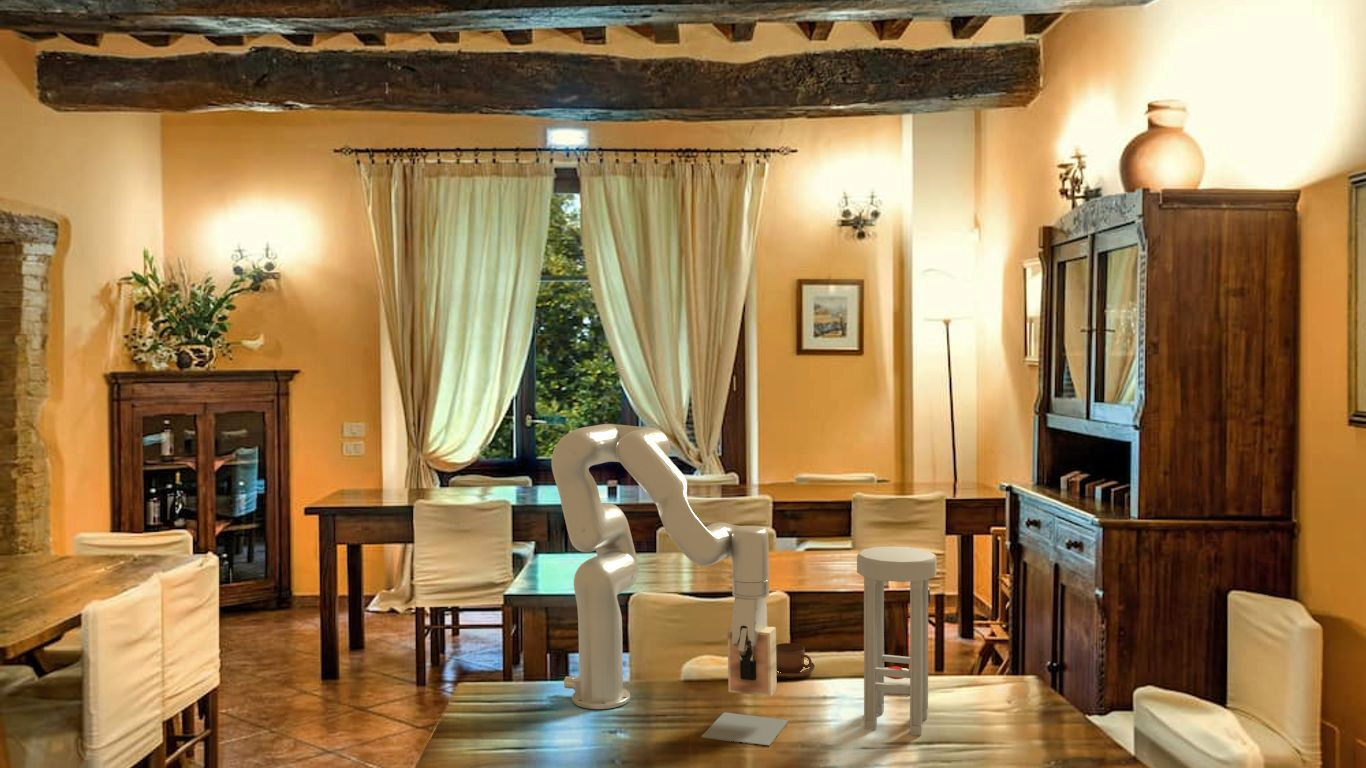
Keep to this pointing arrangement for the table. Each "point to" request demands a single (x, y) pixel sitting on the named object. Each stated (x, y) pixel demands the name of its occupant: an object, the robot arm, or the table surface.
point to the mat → (745, 729)
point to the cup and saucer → (792, 660)
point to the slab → (764, 665)
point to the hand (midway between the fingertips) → (752, 674)
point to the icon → (896, 681)
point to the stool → (876, 570)
